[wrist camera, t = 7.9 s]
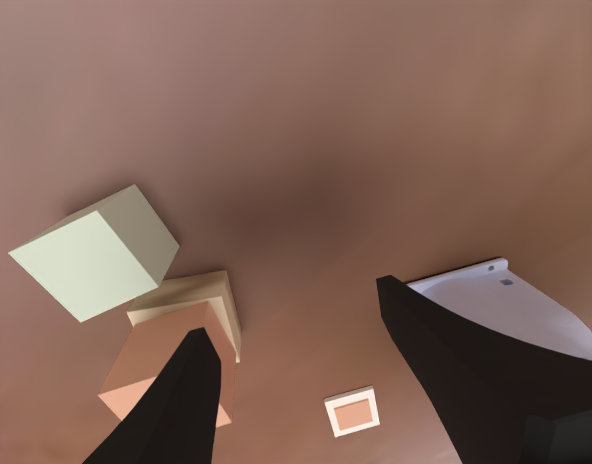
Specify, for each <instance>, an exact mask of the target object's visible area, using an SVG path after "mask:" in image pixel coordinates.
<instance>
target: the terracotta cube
mask: <svg viewBox="0 0 592 464" xmlns="http://www.w3.org/2000/svg"><path fill="white" fill-rule="evenodd" d="M201 327H204V328H205V330H206V332H207V334H208V336H209V338H210V340H211V342H212V344H213V346H214V348H215V350H216V352H217V354H218V356H219V358H220V360H221V392H220V400H219V407H218V415H217V422H216V427H219V426H222V425H225V424H229V423H232V414H233V400H234V385H235V371H236V356H237V353H236V351H235V349H234V347H233V345H232V343H231V341H230V340H229V338H228V336H227V334H226V332H225V330H224V328H223V327H222V325H221V323H220V321H219V319H218V317H217V315H216V314H215V312H214V310H213V308H212V306H211V304H210V302H209V301H206V302H203V303H200V304H197V305H193V306H190V307H187V308H184V309H181V310H178V311H175V312H172V313H168V314H165V315H162V316H159V317H156V318H153V319H150V320H147V321H144V322H140V323H137V324H135V325H134V327H133V329H132V331H131V333H130V335H129V337H128V339H127V341H126V343H125V344H124V346H123V348H122V350H121V352H120V354H119V356H118V358H117V360H116V362H115V363H114V365H113V367H112V369H111V371H110V373H109V375H108V377H107V379H106V381H105V382H104V384H103V386H102V388H101V390H100V392H99V394H98V396H99V397H100V398H101V399H102V400H103V401H104V402H105V403H106V404H107V406H108V407H109V408H110V409H111V410H112V411H113V412H114V413H115V414H116V415H117V416H118V417H119V418H120V419H121V421H122V420H123V419H124V418H125V417H126V416H127V414H128V413H129V412H130V411H131V410H132V409H133V407H134V406H135V405H136V404H137V402H138V401H139V400H140V398H141V397H142V396H143V394H144V393H145V392H146V391H147V389H148V388H149V387H150V385H151V384H152V383H153V381H154V380H155V379H156V377H157V376H158V375H159V373H160V372H161V370H162V369H163V368H164V366H165V365H166V363H167V362H168V360H169V359H170V358H171V356H172V355H173V353H174V352H175V350H176V349H177V347H178V346H179V345H180V343H181V342H182V340H183V339H184V337H185V336H186V335H187V333H188V332H189V331H190V330H194V329H197V328H201Z"/></svg>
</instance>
